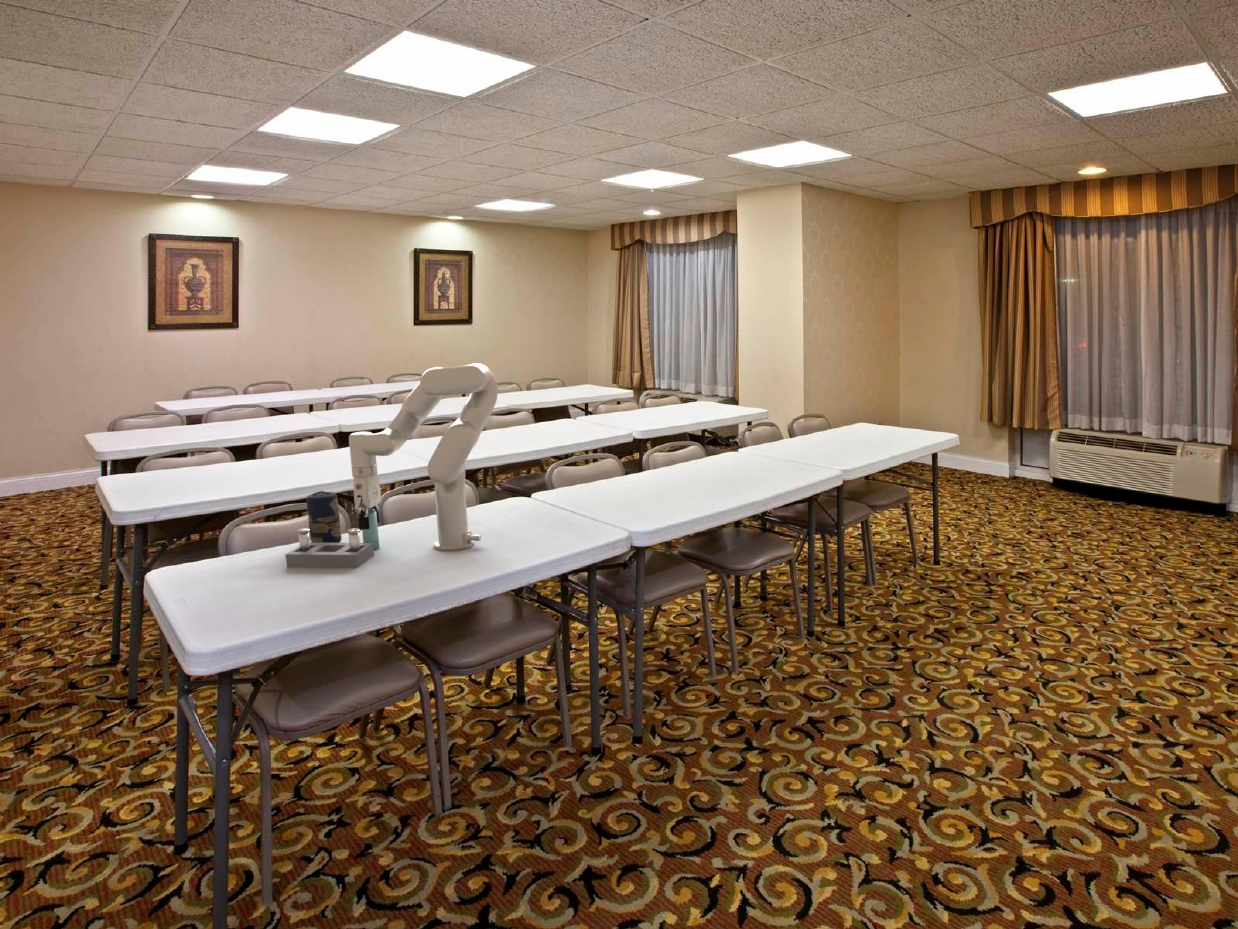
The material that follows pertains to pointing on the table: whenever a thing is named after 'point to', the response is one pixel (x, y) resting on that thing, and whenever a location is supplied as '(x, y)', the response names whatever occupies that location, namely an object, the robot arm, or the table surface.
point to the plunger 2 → (354, 539)
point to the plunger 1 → (304, 539)
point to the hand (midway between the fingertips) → (369, 525)
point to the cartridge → (371, 530)
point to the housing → (330, 556)
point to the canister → (324, 517)
